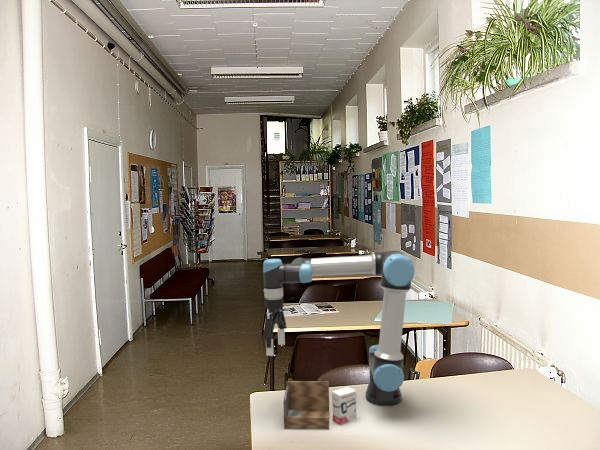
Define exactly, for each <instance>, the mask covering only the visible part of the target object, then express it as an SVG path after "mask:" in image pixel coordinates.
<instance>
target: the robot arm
mask: <svg viewBox="0 0 600 450" xmlns="http://www.w3.org/2000/svg"><path fill="white" fill-rule="evenodd" d="M262 265H263V266H262V273H263V274H262V277H263V291H262V292H264V294H263V295H264V307H265V309H267V310H268V313H265V319H264V329H263V337H262V340H265V349H266V350H265V353H266V356H268V357H269V356H270V357H273V356H274V339H273V334H274V330H275V325H277V328H278V329H277V345H279V346H285V345H286V338H285V337H286V336H285V334H286V333H285V329H287V322H286V317H285V313H284V298H283V297H284V288H283V287H284V285H283V284H301V283H302V284H305V283H311V282H312V281H313V277H325V276H339V275H340V276H342V275H345V276H346V275H361V274H363V275H364V274H372V275H373V276H381V277H380V278H381V279H380V287H381V288H382V290H383V298H382V299H383V300H382V308H381V309H382V310H381V317H380V318H381V320H380V328H379V329H380V330H379V338H378V339H379V340H378V344H375V345H371V346H370V347H369V349H368V354H369V356H368V358H369V360H368V361H369V362H368V363H369V382H368V383H367V388H366V391H365V399H366V401H367V402H369V404H372V405H375V406H382V407H383V406H385V407H387V406H388V407H389V406H394V405H398V404H400V403H401V402H402V392H401V389H400V387H402V385H403V383H404V379H405V377H404V375H405V374H404V372H403V367H404V355H403V353H402V352H401V347H402V336H403V327H404V316H405V308H406V298H407V293H408V292H409V291H411V287H412V281H413V279H414V277H415V266H414V263H413V261H412V260H411V259H410V257H408V256H407V255H406V254H404V253H403V252H401V251H400V250H387V251H386V250H385V251H379V252H372V253H371V254H369V255H352V256H333V257H332V256H331V257H317V258H316V257H315V258H303V257H298V258H295V259H294V260H292V261H291V263H285V264H284V263H283V262H282V259H280V258H269V259H265V260H264V261H263V263H262Z"/></svg>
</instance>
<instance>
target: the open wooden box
mask: <svg viewBox="0 0 600 450" xmlns="http://www.w3.org/2000/svg"><path fill="white" fill-rule="evenodd" d="M285 383H286V387H285V391H284V395H283V429H284V430H329V429H330V381H329V380H326V381H325V380H320V381H319V380H317V381H316V380H314V381H313V380H309V381H308V380H286V381H285Z"/></svg>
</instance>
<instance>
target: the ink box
mask: <svg viewBox="0 0 600 450" xmlns="http://www.w3.org/2000/svg"><path fill="white" fill-rule="evenodd" d="M331 401H332V402H331V403H332V404H331V406H332V407H331V408H332V421H333V422H334V423H336V424H338V425H340V426H341V425H343V424H345V423H349V422H352V421H355V420H357V390H355V389H354V388H352V387H350V386H345V387H342V388H339V389H335V390H333V391H331Z"/></svg>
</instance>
